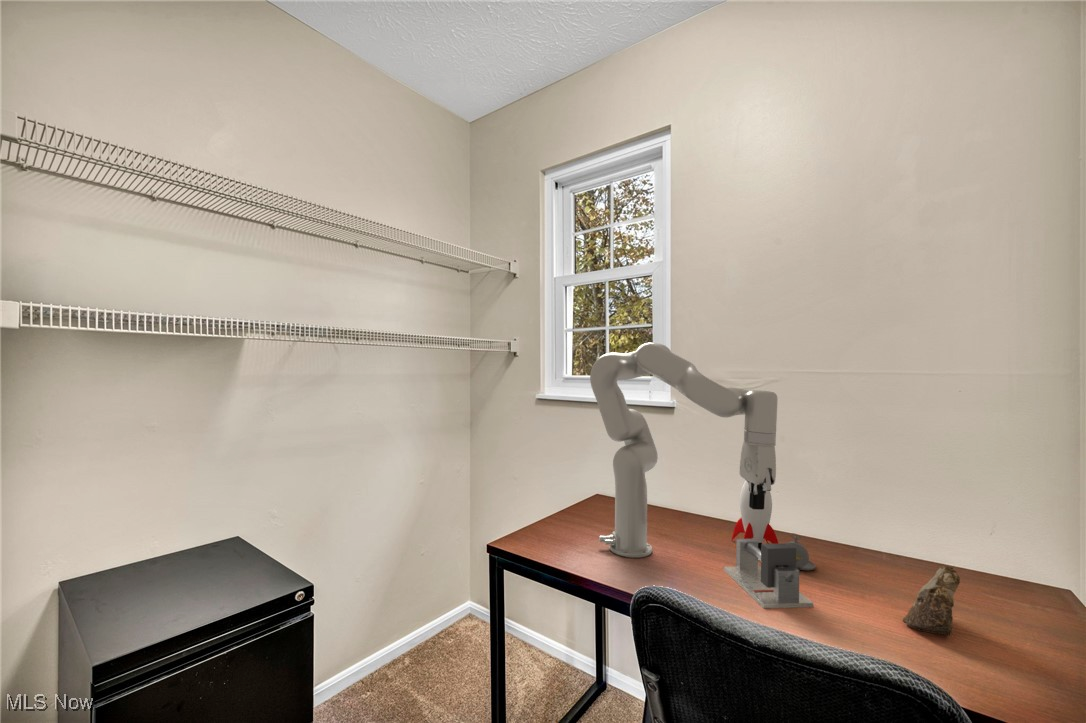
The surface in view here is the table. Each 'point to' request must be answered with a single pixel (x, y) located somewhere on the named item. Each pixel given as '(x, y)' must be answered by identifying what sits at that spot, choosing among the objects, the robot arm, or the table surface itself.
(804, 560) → the pocket watch
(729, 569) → the machine vise
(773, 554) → the collar
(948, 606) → the rock
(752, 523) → the rocket
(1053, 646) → the table surface
